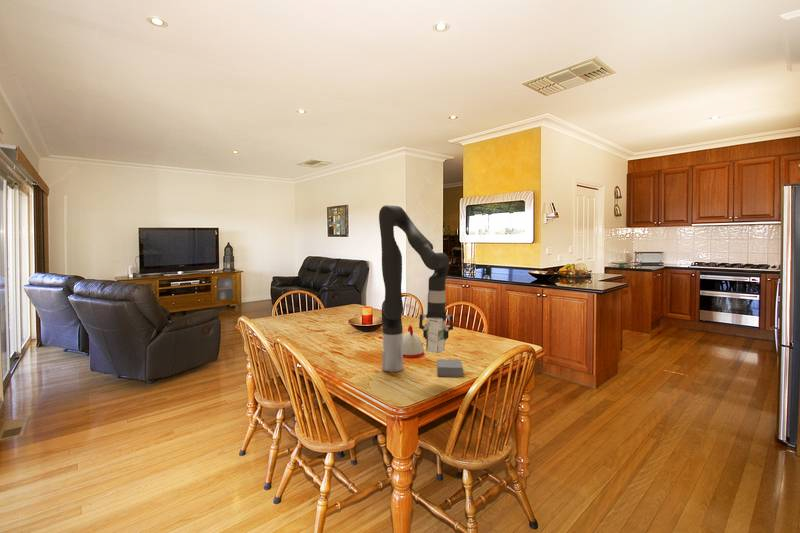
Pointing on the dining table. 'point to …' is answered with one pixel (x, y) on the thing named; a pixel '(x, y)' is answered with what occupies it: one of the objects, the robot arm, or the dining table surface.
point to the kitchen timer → (412, 345)
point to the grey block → (449, 367)
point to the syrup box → (435, 335)
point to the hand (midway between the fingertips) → (435, 339)
